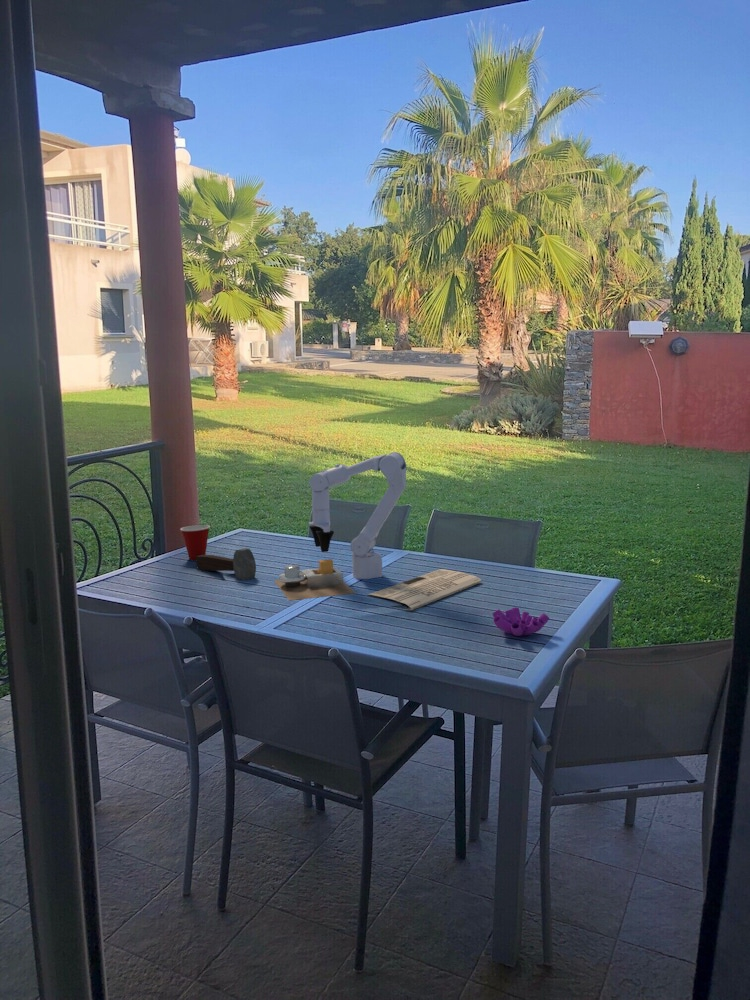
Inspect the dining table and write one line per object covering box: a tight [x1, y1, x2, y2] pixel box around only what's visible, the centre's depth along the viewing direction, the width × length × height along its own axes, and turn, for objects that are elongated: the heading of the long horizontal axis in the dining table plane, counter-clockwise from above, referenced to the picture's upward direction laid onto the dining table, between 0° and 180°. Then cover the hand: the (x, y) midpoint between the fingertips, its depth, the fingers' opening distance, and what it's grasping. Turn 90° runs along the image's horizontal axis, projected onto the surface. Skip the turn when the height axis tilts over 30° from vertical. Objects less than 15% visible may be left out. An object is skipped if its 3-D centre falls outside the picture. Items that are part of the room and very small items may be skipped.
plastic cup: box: [179, 524, 211, 561], centre depth 290 cm, size 11×11×12 cm
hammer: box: [195, 548, 257, 581], centre depth 268 cm, size 5×11×30 cm
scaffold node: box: [278, 564, 344, 587], centre depth 252 cm, size 20×9×6 cm, turn 109°
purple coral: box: [492, 607, 550, 637], centre depth 209 cm, size 11×15×10 cm
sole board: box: [274, 579, 356, 602], centre depth 249 cm, size 21×22×2 cm
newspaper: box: [367, 568, 482, 612], centre depth 247 cm, size 37×19×3 cm, turn 139°
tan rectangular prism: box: [318, 558, 334, 574], centre depth 253 cm, size 4×2×7 cm, turn 107°
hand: (321, 548), depth 262 cm, fingers open, 7 cm apart
